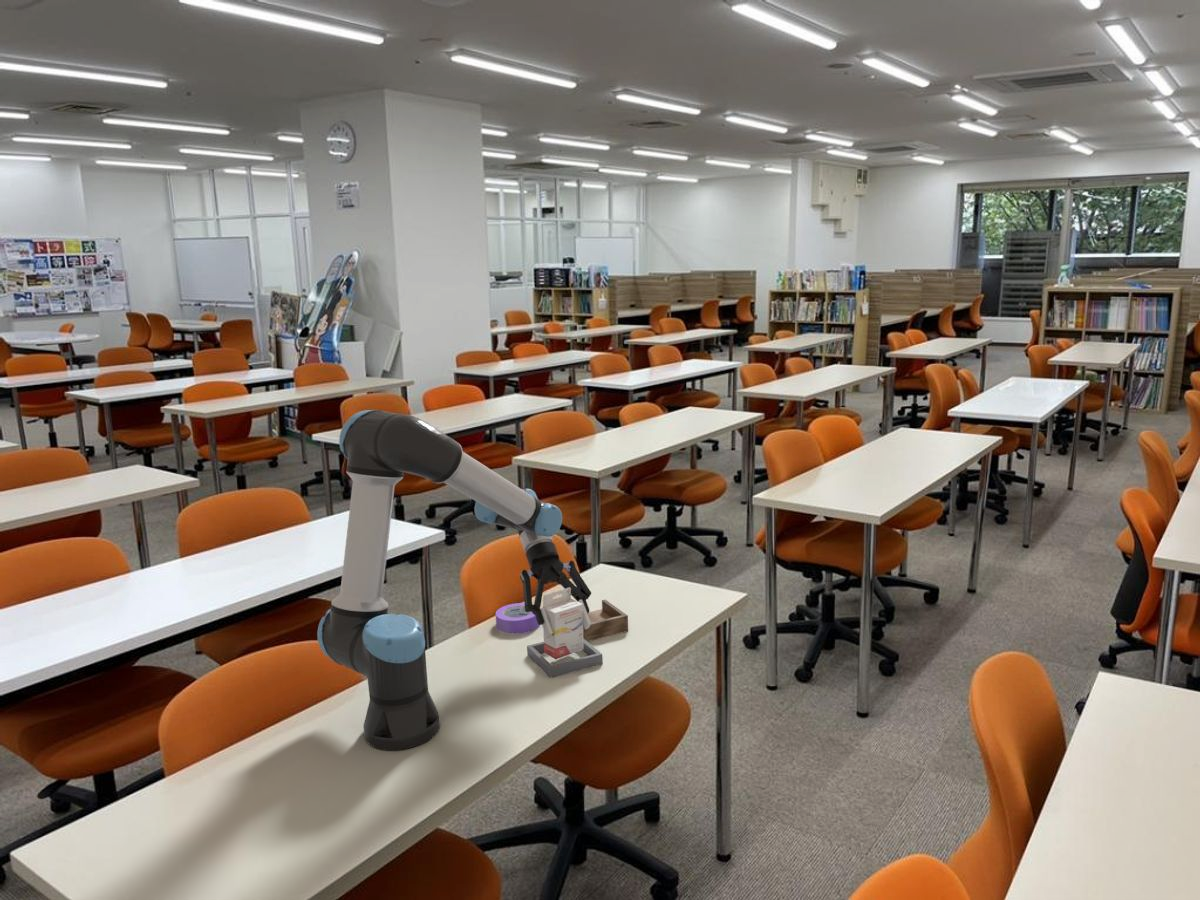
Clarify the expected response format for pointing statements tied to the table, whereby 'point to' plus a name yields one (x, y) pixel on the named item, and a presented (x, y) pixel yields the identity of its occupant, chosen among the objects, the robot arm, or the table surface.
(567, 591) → the ink cartridge box
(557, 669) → the socket
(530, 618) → the masking tape
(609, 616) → the wooden tray
